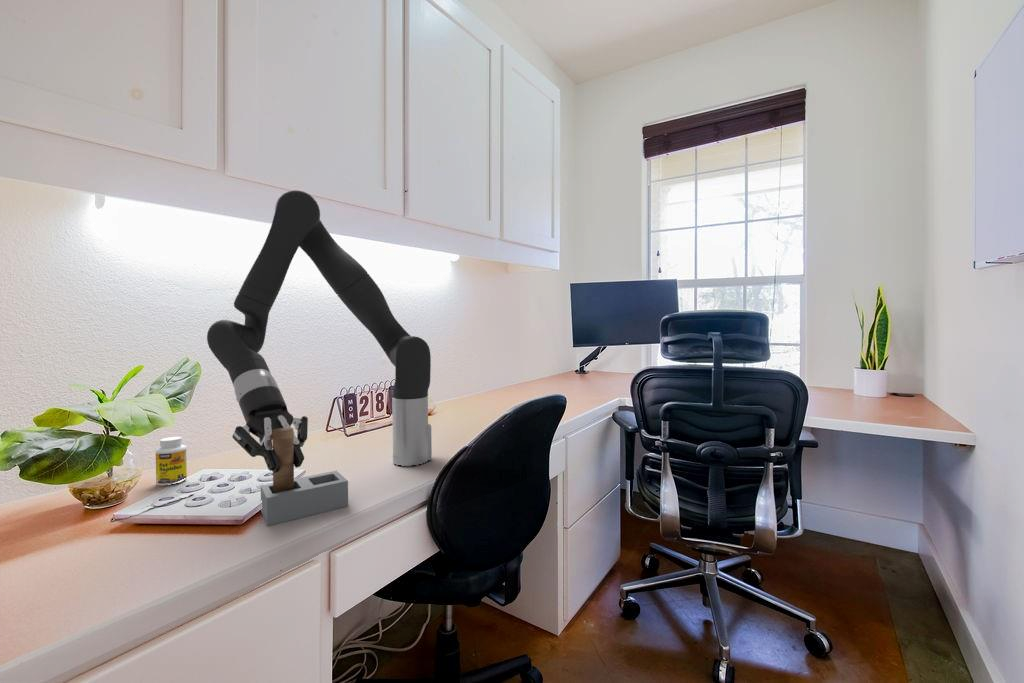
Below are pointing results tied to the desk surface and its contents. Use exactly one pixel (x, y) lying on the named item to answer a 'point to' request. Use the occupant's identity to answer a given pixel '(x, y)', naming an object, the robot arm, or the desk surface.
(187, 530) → the desk surface
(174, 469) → the supplement bottle
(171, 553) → the desk surface
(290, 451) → the walnut pin
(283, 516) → the bore block
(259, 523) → the desk surface
